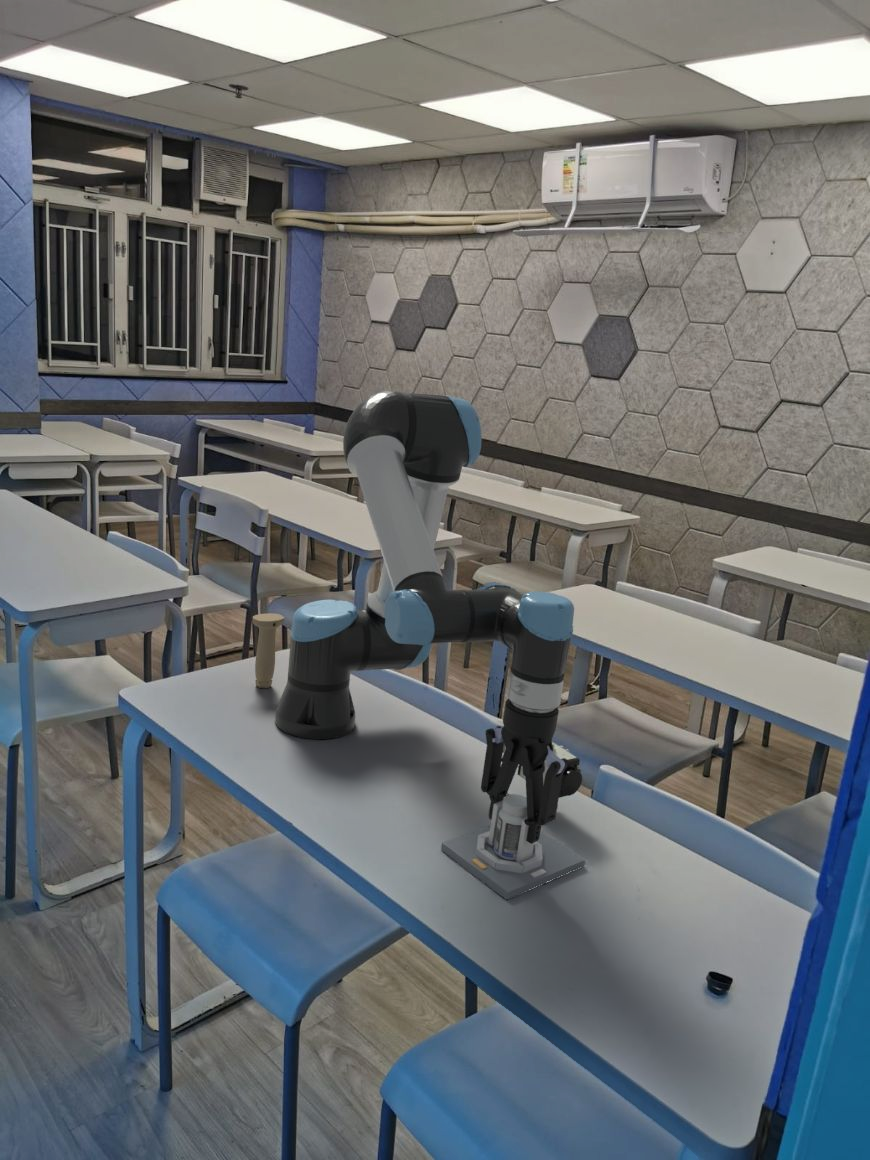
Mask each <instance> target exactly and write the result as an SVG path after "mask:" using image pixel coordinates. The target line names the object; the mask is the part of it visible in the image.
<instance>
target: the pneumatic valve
mask: <svg viewBox="0 0 870 1160" xmlns="http://www.w3.org/2000/svg"><path fill="white" fill-rule="evenodd" d="M552 745H553V752H554V753H555V754H556V755H557V756H558V757H559V758H560V759H563V758H565V759H567V761H568V766H567V768H566V769H565V771H564V773H563V775H562V781H561V787H560V793H559V799H560V798H564V797H570V796H573V795H574V794H576V793H577V791H578V790H579V789H580V787H581V785H582V783H583V775H582V772H581V769H580V761H581V759H580V758H578V757H577V756H575V755H574V754H572V753H571V752H570V750H569V749H568V748H565V747H564V746H563V745H558V744H557V743H555V742H553V741H552ZM546 766H547V759H546V760H545V771H544V773H543V785H544V779H545V775H546V772H547V769H546ZM517 775H518V776H519V777H521V778H522V779H523V780H525V781H526V777H525V776H524V775H523V767H522V766H521V765H520V764H519V765H518V767H517ZM558 808H559V804H558V805H557V809H558Z"/></svg>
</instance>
